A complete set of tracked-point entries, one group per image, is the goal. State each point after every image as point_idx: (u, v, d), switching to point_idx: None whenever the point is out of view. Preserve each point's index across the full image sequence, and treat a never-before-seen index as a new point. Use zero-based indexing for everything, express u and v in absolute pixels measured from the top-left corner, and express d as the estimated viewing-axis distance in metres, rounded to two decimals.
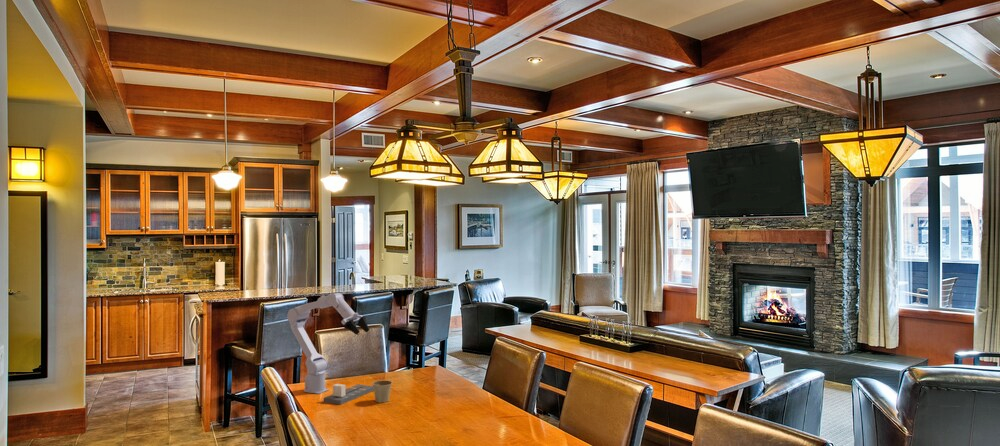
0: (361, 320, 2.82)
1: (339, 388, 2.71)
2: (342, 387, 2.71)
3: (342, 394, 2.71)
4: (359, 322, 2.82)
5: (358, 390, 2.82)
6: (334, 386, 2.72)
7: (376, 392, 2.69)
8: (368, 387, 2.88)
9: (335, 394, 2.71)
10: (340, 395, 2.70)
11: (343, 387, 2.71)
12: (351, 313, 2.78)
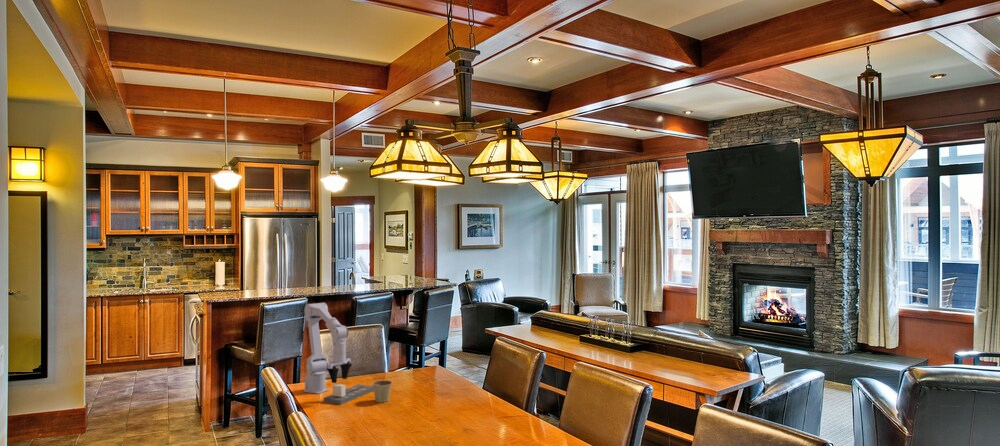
0: (346, 366, 2.76)
1: (339, 388, 2.71)
2: (342, 387, 2.71)
3: (342, 394, 2.71)
4: (343, 365, 2.76)
5: (358, 390, 2.82)
6: (334, 386, 2.72)
7: (376, 392, 2.69)
8: (368, 387, 2.88)
9: (335, 394, 2.71)
10: (340, 395, 2.70)
11: (343, 387, 2.71)
12: (342, 359, 2.71)
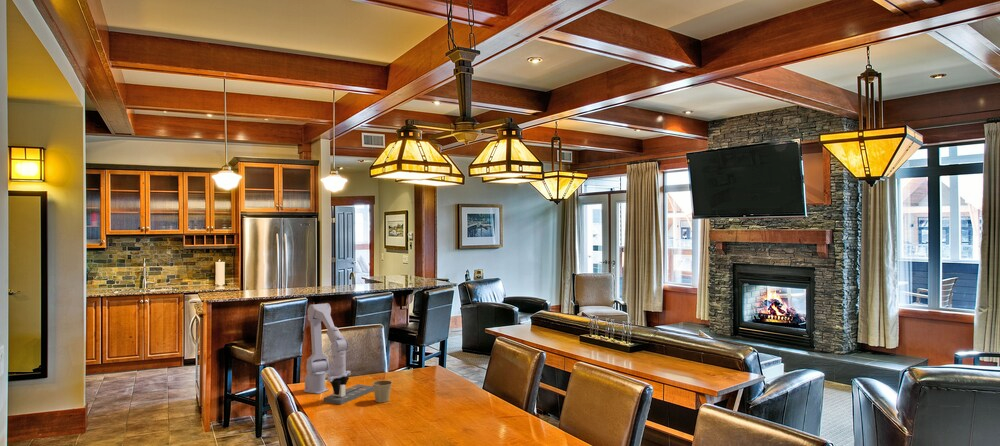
0: (343, 379, 2.74)
1: None
2: (342, 387, 2.71)
3: (342, 394, 2.71)
4: (340, 379, 2.74)
5: (358, 390, 2.82)
6: None
7: (376, 392, 2.69)
8: (368, 387, 2.88)
9: (335, 394, 2.71)
10: (340, 395, 2.70)
11: (343, 387, 2.71)
12: (341, 372, 2.70)
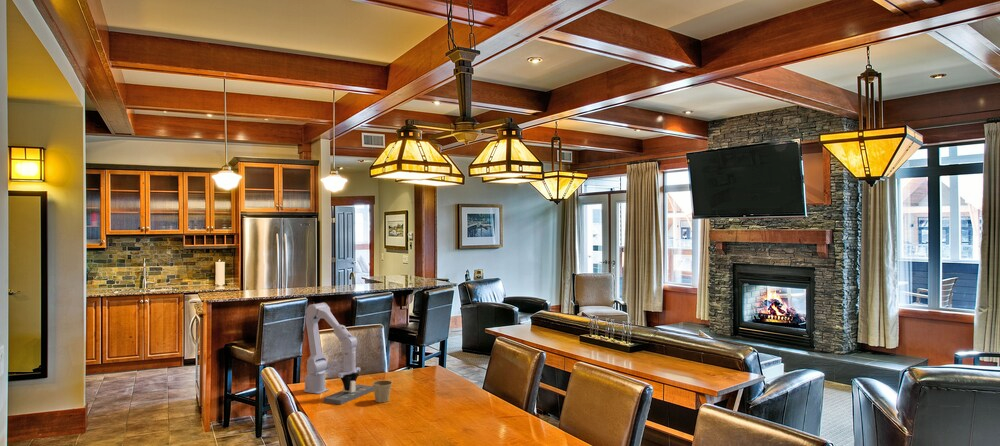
0: (353, 376, 2.81)
1: None
2: (352, 383, 2.78)
3: (352, 390, 2.78)
4: (350, 375, 2.81)
5: (358, 390, 2.82)
6: None
7: (376, 392, 2.69)
8: (368, 387, 2.88)
9: (345, 390, 2.78)
10: (350, 391, 2.77)
11: (353, 383, 2.79)
12: (352, 369, 2.77)
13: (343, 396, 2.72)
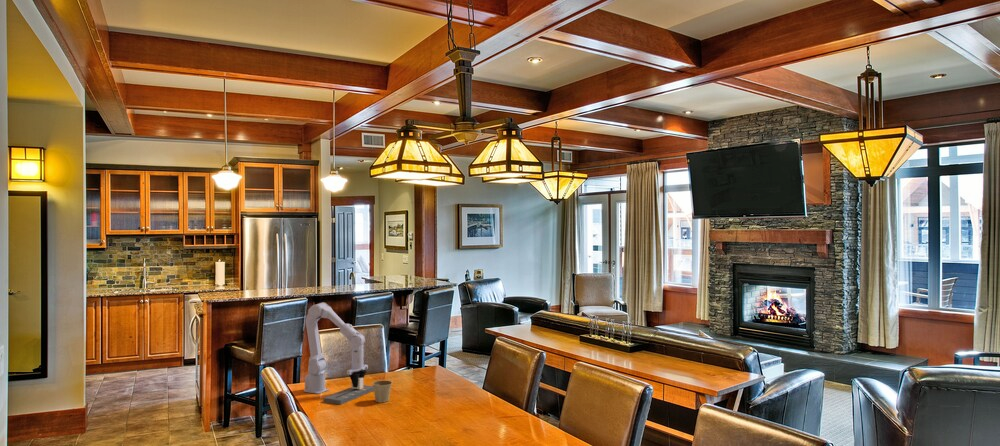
0: (361, 373, 2.86)
1: None
2: (360, 380, 2.84)
3: (360, 387, 2.84)
4: (358, 372, 2.87)
5: (358, 390, 2.82)
6: None
7: (376, 392, 2.69)
8: (368, 387, 2.88)
9: (353, 387, 2.84)
10: (358, 388, 2.83)
11: (361, 380, 2.84)
12: (360, 366, 2.83)
13: (343, 396, 2.72)
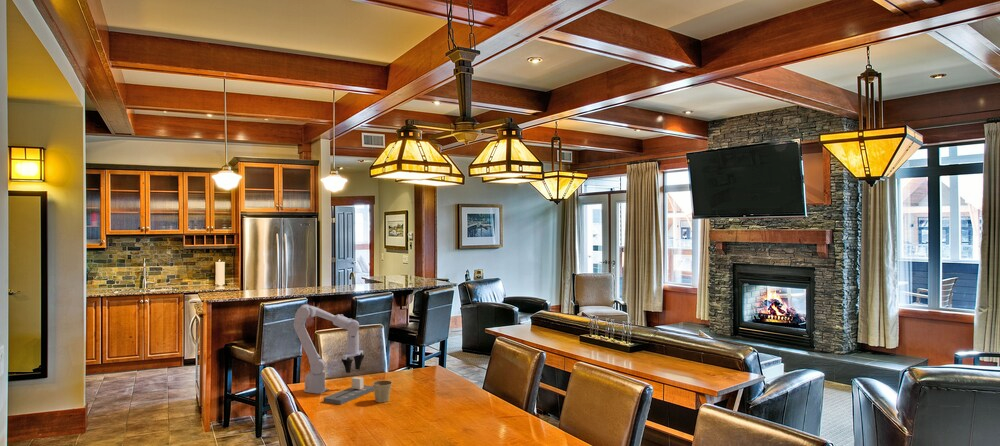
0: (359, 357, 2.94)
1: (357, 381, 2.83)
2: (360, 380, 2.84)
3: (360, 387, 2.84)
4: (356, 357, 2.95)
5: (358, 390, 2.82)
6: (353, 379, 2.85)
7: (376, 392, 2.69)
8: (368, 387, 2.88)
9: (354, 387, 2.84)
10: (358, 388, 2.83)
11: (361, 380, 2.84)
12: (355, 351, 2.89)
13: (343, 396, 2.72)
